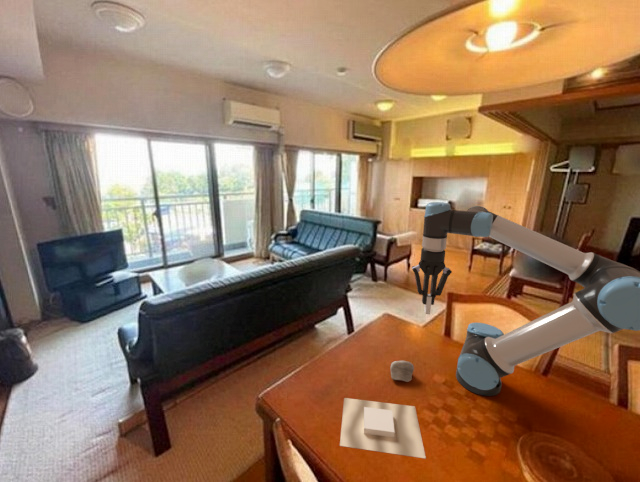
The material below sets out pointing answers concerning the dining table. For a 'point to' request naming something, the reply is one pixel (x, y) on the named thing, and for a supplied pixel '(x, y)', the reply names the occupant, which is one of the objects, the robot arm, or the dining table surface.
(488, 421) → the dining table surface
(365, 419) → the tile
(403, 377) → the stone
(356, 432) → the cloth
